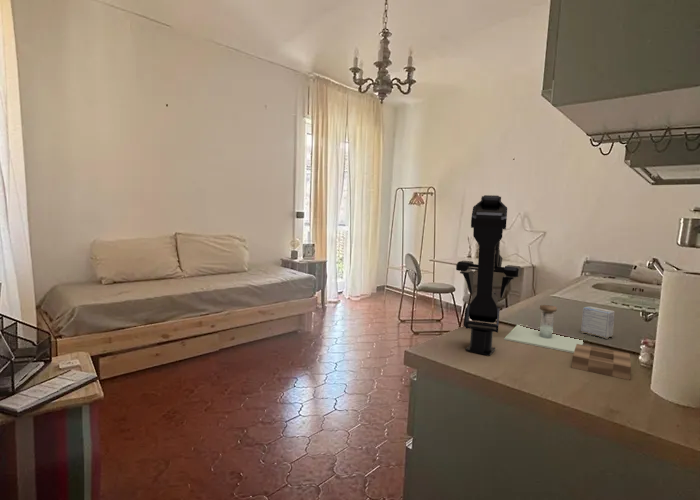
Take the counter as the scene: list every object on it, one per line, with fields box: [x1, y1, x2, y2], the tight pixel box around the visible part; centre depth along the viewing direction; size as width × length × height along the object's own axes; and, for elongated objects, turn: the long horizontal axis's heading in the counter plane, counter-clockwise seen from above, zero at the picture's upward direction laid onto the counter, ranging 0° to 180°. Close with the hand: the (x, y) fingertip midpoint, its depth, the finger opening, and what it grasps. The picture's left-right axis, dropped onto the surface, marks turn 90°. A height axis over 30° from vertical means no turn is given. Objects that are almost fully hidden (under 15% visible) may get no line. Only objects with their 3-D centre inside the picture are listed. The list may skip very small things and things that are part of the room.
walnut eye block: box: [571, 344, 632, 381], centre depth 103 cm, size 12×12×3 cm
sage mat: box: [503, 324, 584, 354], centre depth 126 cm, size 20×20×1 cm
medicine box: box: [580, 305, 616, 337], centre depth 131 cm, size 8×4×9 cm, turn 35°
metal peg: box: [539, 304, 558, 339], centre depth 125 cm, size 5×5×10 cm
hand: (486, 295), depth 128 cm, fingers open, 9 cm apart
